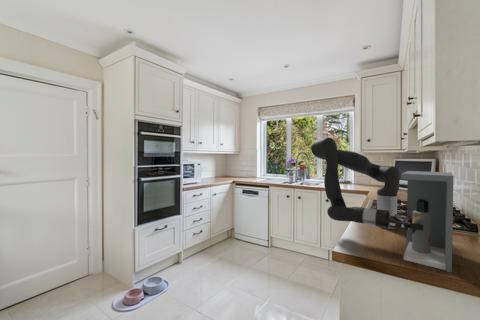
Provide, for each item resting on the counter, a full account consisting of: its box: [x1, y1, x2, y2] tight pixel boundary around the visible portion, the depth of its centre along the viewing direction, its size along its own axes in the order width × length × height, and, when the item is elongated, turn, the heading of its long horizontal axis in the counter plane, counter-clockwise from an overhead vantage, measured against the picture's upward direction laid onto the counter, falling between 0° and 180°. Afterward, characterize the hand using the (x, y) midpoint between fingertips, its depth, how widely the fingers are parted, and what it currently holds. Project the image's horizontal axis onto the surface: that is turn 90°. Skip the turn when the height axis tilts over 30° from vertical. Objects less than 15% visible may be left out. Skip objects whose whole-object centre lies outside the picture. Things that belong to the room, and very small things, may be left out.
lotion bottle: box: [412, 199, 431, 253], centre depth 89 cm, size 6×6×20 cm
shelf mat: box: [403, 242, 446, 271], centre depth 87 cm, size 19×12×2 cm, turn 138°
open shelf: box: [400, 170, 455, 273], centre depth 88 cm, size 22×14×32 cm, turn 138°
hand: (424, 225), depth 88 cm, fingers open, 8 cm apart
